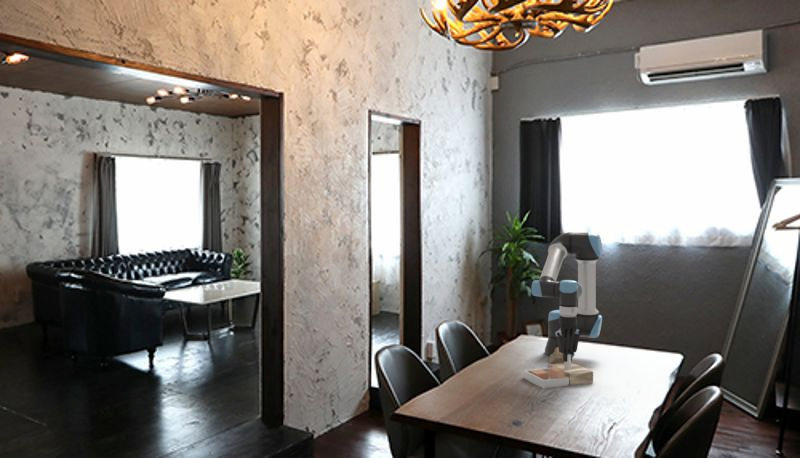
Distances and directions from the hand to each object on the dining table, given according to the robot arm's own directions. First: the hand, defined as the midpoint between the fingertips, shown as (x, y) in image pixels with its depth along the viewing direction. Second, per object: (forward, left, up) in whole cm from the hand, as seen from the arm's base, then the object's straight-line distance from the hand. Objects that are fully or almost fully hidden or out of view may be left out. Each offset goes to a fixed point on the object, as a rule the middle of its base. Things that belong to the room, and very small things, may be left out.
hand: (567, 368), depth 254 cm
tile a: (-8, -9, -3) cm, 13 cm away
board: (-4, +5, -6) cm, 9 cm away
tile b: (0, -4, -2) cm, 5 cm away
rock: (-20, +8, -7) cm, 22 cm away
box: (-4, -8, -6) cm, 11 cm away
